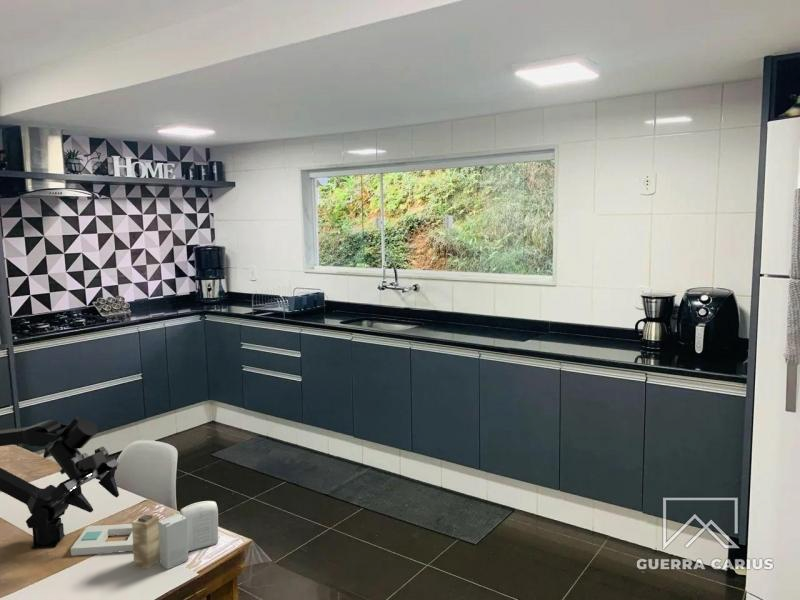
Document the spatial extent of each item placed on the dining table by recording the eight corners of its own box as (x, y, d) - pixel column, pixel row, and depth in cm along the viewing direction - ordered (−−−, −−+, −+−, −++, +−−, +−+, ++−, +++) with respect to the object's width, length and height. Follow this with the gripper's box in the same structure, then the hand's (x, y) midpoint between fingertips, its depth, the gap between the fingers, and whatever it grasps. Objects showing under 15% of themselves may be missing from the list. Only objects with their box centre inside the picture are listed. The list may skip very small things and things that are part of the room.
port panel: (71, 555, 159) (70, 547, 159) (87, 532, 171) (87, 525, 171) (149, 550, 162) (149, 542, 162) (160, 528, 174) (160, 521, 173)
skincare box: (180, 554, 160) (178, 512, 158) (189, 560, 157) (188, 517, 156) (158, 564, 155) (156, 520, 154) (167, 571, 152) (165, 526, 151)
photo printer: (216, 537, 169) (214, 495, 168) (220, 543, 166) (219, 501, 164) (178, 547, 164) (176, 504, 162) (182, 554, 160) (180, 510, 159)
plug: (134, 565, 155) (131, 519, 153) (146, 556, 159) (144, 511, 157) (148, 568, 153) (146, 522, 152) (160, 559, 158) (158, 514, 156)
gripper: (57, 453, 150) (95, 501, 149) (112, 430, 168) (146, 472, 166) (34, 479, 153) (71, 526, 152) (90, 453, 171) (124, 495, 170)
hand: (105, 503), depth 160 cm, fingers open, 9 cm apart
